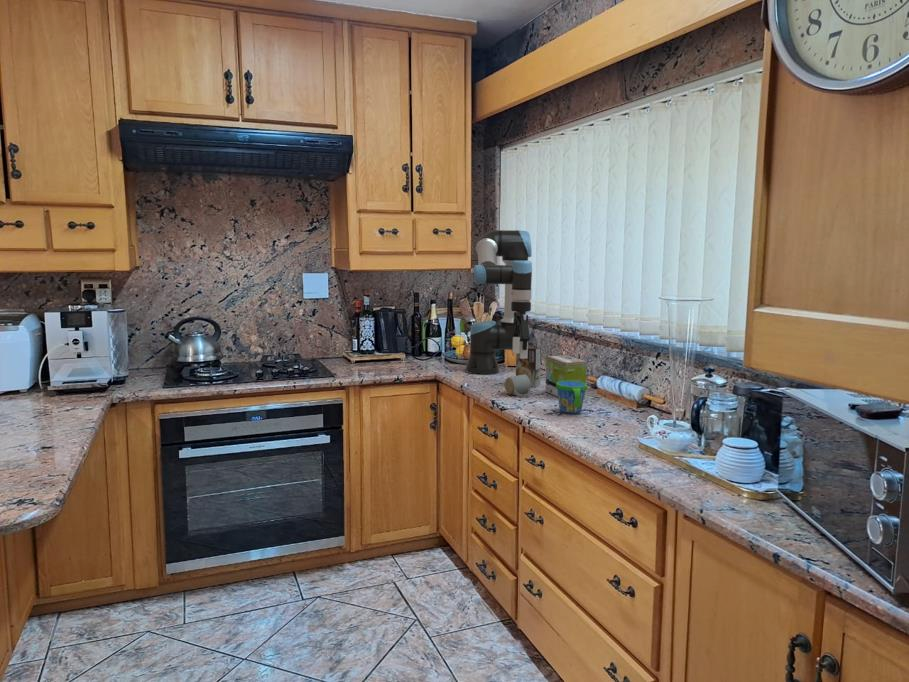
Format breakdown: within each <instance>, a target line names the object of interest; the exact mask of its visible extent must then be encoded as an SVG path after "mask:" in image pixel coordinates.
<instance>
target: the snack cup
mask: <svg viewBox="0 0 909 682" xmlns="http://www.w3.org/2000/svg"><path fill="white" fill-rule="evenodd" d="M556 387H557V390H558V397H557V399H558V406H559V407H558V408H559V411H560V412H562V413H563V414H569V415H575V414H576V413H577V414H580V413H582V409H583V405H584V399H585V398H584V395H585V396H586V394H585V391H586V390H587V389H588V385H587V382H586V383H583V382H579V381H559V382H557V383H556ZM586 392H587V391H586ZM577 414H576V415H577Z"/></svg>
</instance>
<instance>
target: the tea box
mask: <svg viewBox="0 0 909 682" xmlns="http://www.w3.org/2000/svg"><path fill="white" fill-rule="evenodd" d="M545 358H546V359H545V360H546V361H545V364H546V365H545V366H546V367H545V392H546V393H549V394H551V395H553V396H555V397H557V398H558V390H557V387H556V383H557V382H559V381H579V382H583V383H586V384H587V364H588V363H587V361H586V360H583V359H580V358H577V357H574V356H572V355H571V356H570V355H569V354H566V355H552V356H551V355H550V356H548V355H547V356H546V357H545ZM586 392H587V391H585V395H584V399H585V398H586V394H587V393H586Z"/></svg>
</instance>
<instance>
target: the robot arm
mask: <svg viewBox="0 0 909 682" xmlns="http://www.w3.org/2000/svg"><path fill="white" fill-rule="evenodd" d="M475 252H476V254H477V258H478V259H477V263H478V264H475V265H474V266H473V283H474V284H479V285H504V305H503V306H504V308H503V309H504V311H503V315H504V316H503V317H502V319H500V323H497V322H496V321H495V320H485V321H478V322H474V323H472V324H471V326H470V332H469V335H470V339H469V340H470V343H469V344H470V346H469V357H468V359H467V363H466V366H465V371H468V372H471V373H470V374H473V373H480V374H479V375H494V374H493V373H495V374H498V373H499V364H498V360H497V357H496V350H503V351H504V350H510V351H511V350H512V352H511V353H512V354H516V353H520V359H528V346H529V341H530V339H531V338H530V325H529V315H528V314H526V312H527V313H528V312H531V310H532V302H531V300H532V280H533V279H532V276H533V273H532V272H533V263H532V261H531V260H529V258H530V257H532V254H533V253H532V241H531V236H530V233H529V231H526V230H517V229H515V230H506V229H505V230H503V229H502V230H497V229H495V230H491V231H488V232H485V234H482V235H481V236H480V237H479V238H478V240H477V241H476V243H475ZM497 257H501V261H502V262H503V263H504V264H497ZM468 372H467V373H468Z"/></svg>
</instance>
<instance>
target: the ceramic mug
mask: <svg viewBox="0 0 909 682" xmlns="http://www.w3.org/2000/svg"><path fill="white" fill-rule="evenodd" d="M504 388H505V391H506V393H507V394H508V395H510V396H517V397H519V398H521V397H526V398H528V397H530V392H531V388H532V387H531V385H530V380H529V378H528V376H527V375H525V374H523V375H518V376H516V375H512V376H509V377H506V378H505V380H504Z"/></svg>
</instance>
